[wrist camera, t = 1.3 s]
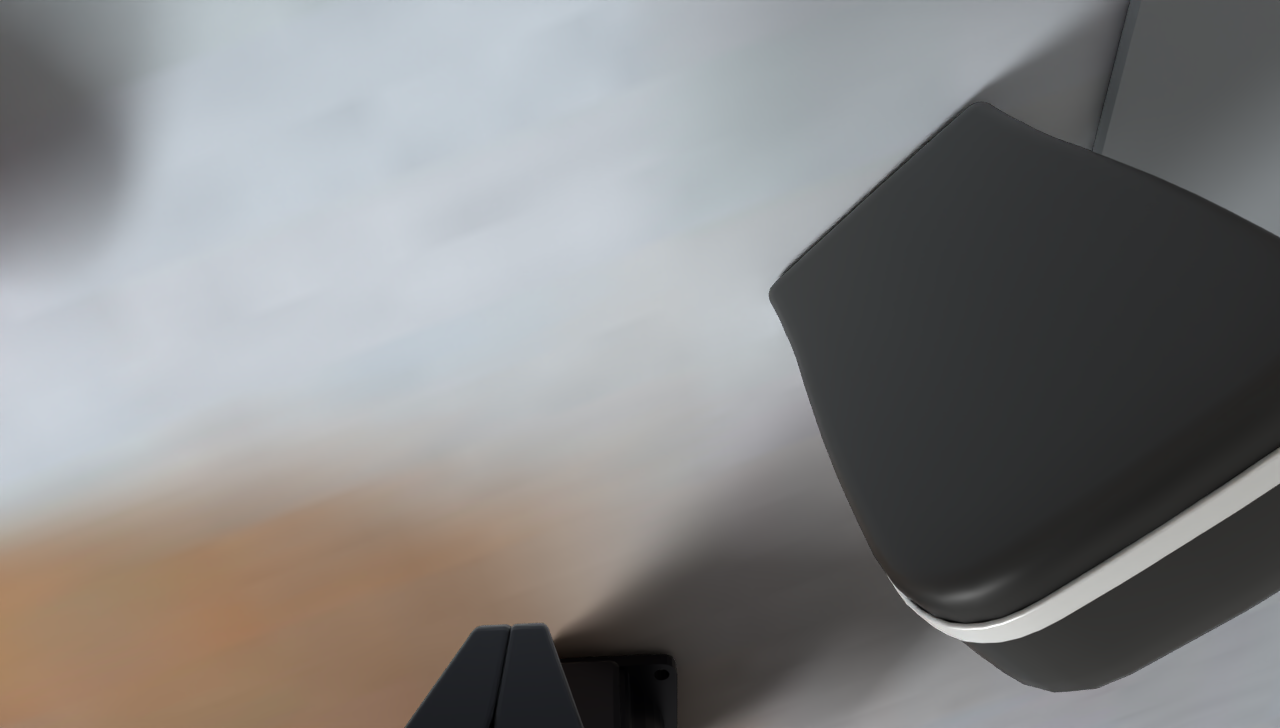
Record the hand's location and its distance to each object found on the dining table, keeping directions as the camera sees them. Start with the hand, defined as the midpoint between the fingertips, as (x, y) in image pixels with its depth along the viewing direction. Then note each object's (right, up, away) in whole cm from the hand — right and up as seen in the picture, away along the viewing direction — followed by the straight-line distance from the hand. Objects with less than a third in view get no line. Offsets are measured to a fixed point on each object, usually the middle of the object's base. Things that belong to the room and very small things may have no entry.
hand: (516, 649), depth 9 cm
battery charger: (+8, +6, +11) cm, 15 cm away
